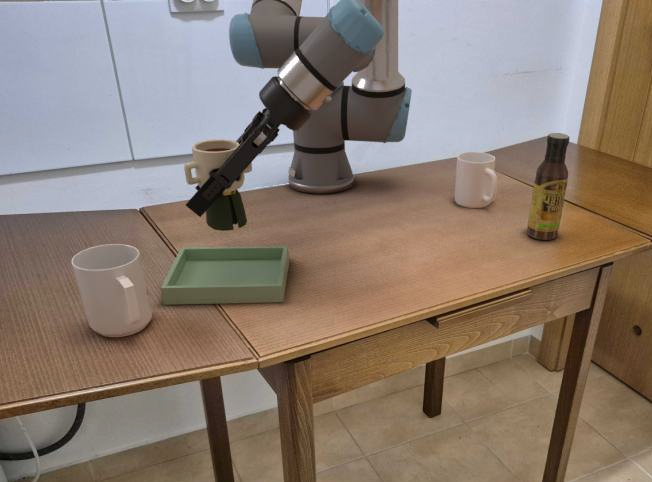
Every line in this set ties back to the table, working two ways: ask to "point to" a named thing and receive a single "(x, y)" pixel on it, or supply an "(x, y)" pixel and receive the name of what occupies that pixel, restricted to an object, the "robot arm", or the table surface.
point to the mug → (113, 289)
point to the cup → (475, 180)
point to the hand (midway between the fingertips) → (198, 201)
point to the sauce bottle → (549, 190)
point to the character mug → (230, 201)
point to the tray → (227, 275)
